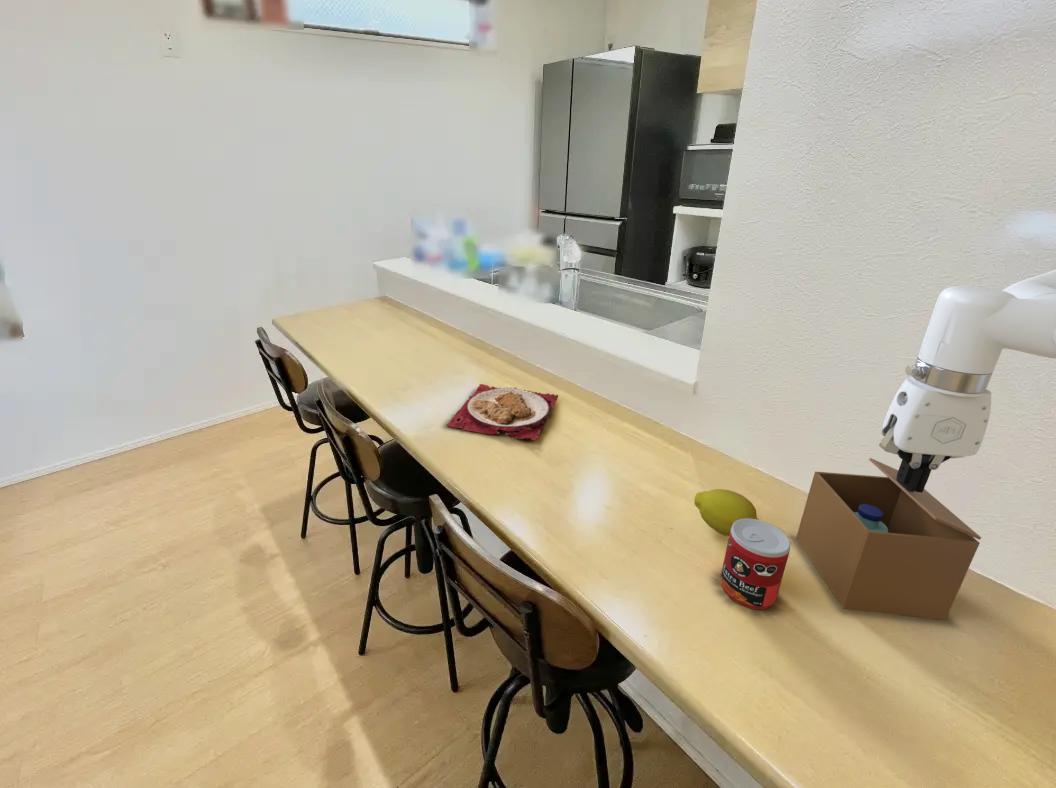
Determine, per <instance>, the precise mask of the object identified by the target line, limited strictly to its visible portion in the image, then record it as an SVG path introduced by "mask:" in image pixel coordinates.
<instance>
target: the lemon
mask: <svg viewBox="0 0 1056 788" xmlns="http://www.w3.org/2000/svg"><path fill="white" fill-rule="evenodd" d="M694 506H695V507H696V508H697V509H698V510H699V514H700V516H701V518H702V520H703V521H704V522H705V524H706V525H707V526H708V527H710V528H711V529H713V530H714V531H716V532H717V533H718V534H721V535H724V536H727V537H729V535H730V531H731V528H732V525H733V523H734V522H735V521H737V520H740V519H746V518H747V519H757V520H759V518H758V515H757V509H756V507H755V506H754V504H753V503H752V502H751V500H750V499H748V498H747V497H746V496H744V495H742V494H740V493H738V492H736V491H734V490H730V489H725V488H724V489H722V488H715V489H710V490H705V491H699V492H696V494H695V495H694Z"/></svg>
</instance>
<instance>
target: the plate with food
mask: <svg viewBox="0 0 1056 788" xmlns="http://www.w3.org/2000/svg"><path fill="white" fill-rule="evenodd" d="M558 399H559V395H558V394H554V393H552V394H551V393H541V392H537V391H532V390H527V389H521V388H517V387H516V386H515V387H496V386H491V387H490V386H489V385H488V384H483V383H479V385H478V386H477V389H476V391H475V392H474V393H473V394H472V395H470V396H469V397H468V399H466V401H465V402H464V403H463V405H462V406H461V407H460V409H458V410H457V411H456V413H455V415H453V416H452V417H451V419H450V420H449V422H448V423H447V424H446V425H445V426H446V427H449V428H455V429H462V430H463V431H467V432H469V431H470V432H473V433H474V432H475V433H480V434H481V433H482V434H486V435H499V434H500V433H501V431H502V432H505V433H504V434H505V435H510V438H514V439H518V440H519V439H520V440H524V439H526V440H528V439H530V440H531V441H536V440H537V439H538V438H539V437H540V435H541V432H543V430H544V427H545V426H546V423H547V421H548V420H549V415H551V414H552V412H553V411H554V406H555V405H556V404H557V401H558ZM458 419H459V420H458Z"/></svg>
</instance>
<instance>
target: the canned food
mask: <svg viewBox="0 0 1056 788" xmlns="http://www.w3.org/2000/svg"><path fill="white" fill-rule="evenodd" d="M757 519H758V518H757ZM757 519H747V518H746V519H740V520H737V521H735V522H734V523H733V525H732V528H731V531H730V535H729V536H728V540H727V543H726V544H727V545H726V550H725V552H724V553H725V554H724V557H723V558H724V559H723V562H722V566H721V567H722V568H721V572H720V576H719V577H720V579H719V580H720V585H721V588H722V590H723V592H724V593H725V594H726V596H728V597H729V598H730V599H731V600H732V601H734V602H735V603H737V604H739V605H741V606H743V607H745V608H749V609H753V610H765V609H768V608H770V607H771V606H773V605H774V603H775V602H776V601H777V597H778V594H779V590H780V587H781V584H782V580H783V577H784V572H785V570H786V567H787V562H788V559H789V555H790V551H791V546H792V545H791V540H790V538H789V537H788V535H787V534H786V533H785V532H784V531H783V530H781V529H780V528H779V527H777V526H776V525H773V524H772V523H769V522H767V521H765V520H761V519H758V520H757Z"/></svg>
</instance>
